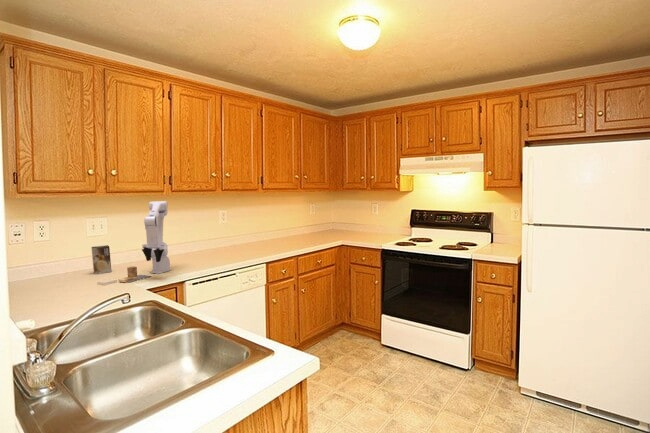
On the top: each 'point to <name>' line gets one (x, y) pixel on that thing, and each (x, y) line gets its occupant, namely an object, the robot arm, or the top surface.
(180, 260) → the top surface
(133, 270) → the brown l-shaped block
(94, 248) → the coffee box
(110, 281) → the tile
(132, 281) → the mat
